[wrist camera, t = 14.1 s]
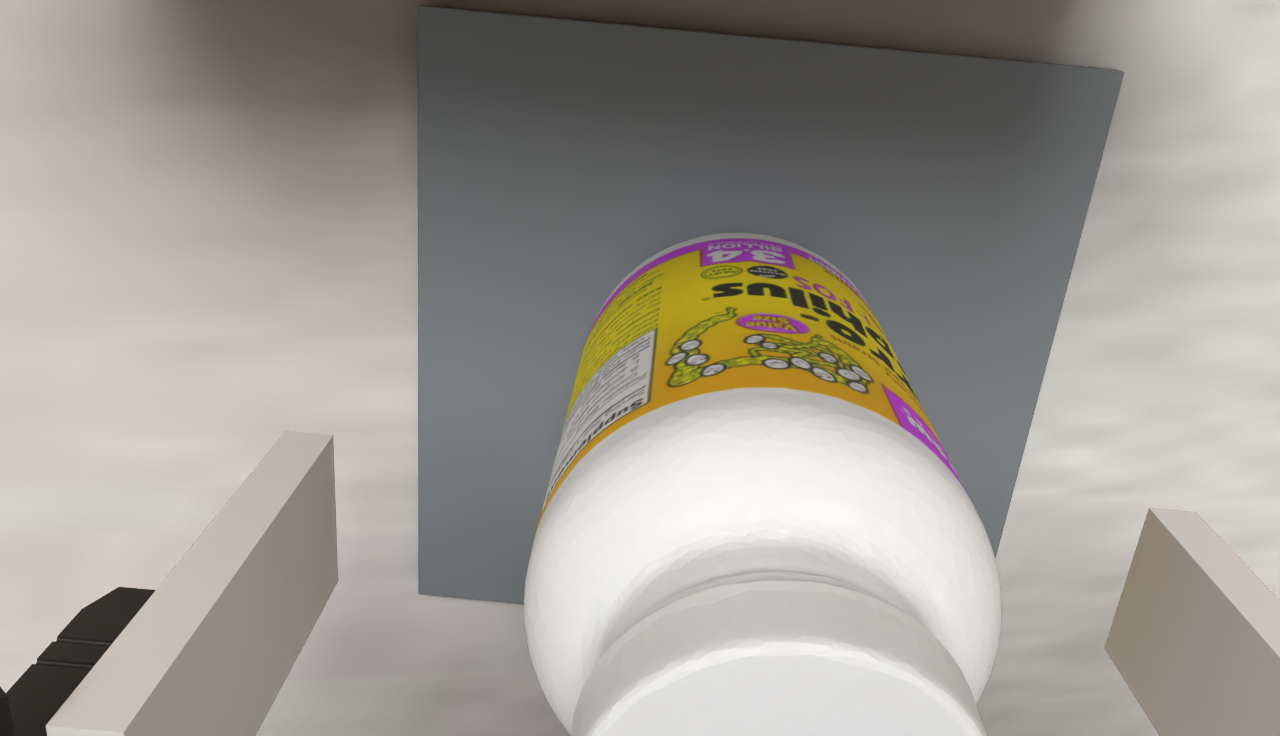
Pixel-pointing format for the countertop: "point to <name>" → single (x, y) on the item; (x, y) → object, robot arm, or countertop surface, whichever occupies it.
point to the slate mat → (722, 203)
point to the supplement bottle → (755, 517)
